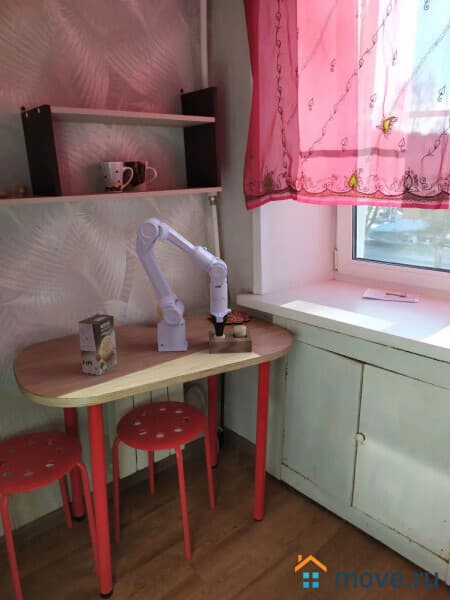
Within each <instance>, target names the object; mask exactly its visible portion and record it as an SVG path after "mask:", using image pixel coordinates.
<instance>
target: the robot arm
mask: <svg viewBox="0 0 450 600" xmlns="http://www.w3.org/2000/svg"><path fill="white" fill-rule="evenodd" d="M135 233H136V234H135V235H136V238H135V239H136V240H135V249H134V250H135V253H136V256H137V257H138V259H139V261H140V264H141V266H142V268H143V270H144V272H145V273H146V276H147V277H148V279H149V282H150V283H151V285H152V287H153V290H154V291H155V294H156V295H157V298H158V300H159V303H160V306H161V309H162V311H163V319H164V322H162V323H161V322H158V323H157V346H158V347H157V348H158V351H157V352H160V353H161V352H186V351H187V350H188V341H187V340H186V320H185V317H183V315H184V313H185V310H186V309H185V308H186V307H185V305H184V303H183V302H182V301H181V300H179V298H178V297H177V295H176V294H175V293H174V292H173V289H172V287H171V286H170V284H169V282H168V279H167V278H166V275H165V274H164V271H163V270H162V267H161V265H160V263H159V260H158V259H157V257H156V255H155V253H154V251H153V249H154V245H155V243H156V241H157V239H158V241H164V242H165V241H166V242H167V241H168V242H170V243H172V245H174V246H175V247H177V248H178V249H180V250H182V251H183V252H184V253H186V254H187V255H189V261H190V262H192V263H193V264H195V265H196V266H197V267H199V268H200V269H201V270H202V271H204V272H206V273H208V276H209V278H210V282H209V301H210V302H209V305H210V307H209V308H210V309H209V313H210V320H211V322H212V325H213V327H214V331H215V333H216V336H217V337H219V336H223V332H224V330H225V326H226V324H227V321H228V319H229V317H228V313H231V312H232V309H231V308H228V283H227V281H228V279H227V276H228V266H227V264H226V262H225V261H224V260H223V259H220V257H218V256H215V255H213V254H212V253H211V252H210V251H208V248H207V247H206V246H204V247H202V245H198V246H195V245H194V244H192V243H191V242H190V241H189V240H187V239H186V238H185V237H184V236H182V235H181V234H180V233H179V232H178V231H176V230H175V229H174V228H172V227H171V226H170V225H168V224H167V223H165V222H162V220H160V219H159V218H157V217H153V216H152V217H149V218H147V219H146V220H143V221H142V222H140V224H139V226H138V228H137V230H136V232H135Z"/></svg>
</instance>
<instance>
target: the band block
mask: <svg viewBox="0 0 450 600" xmlns="http://www.w3.org/2000/svg"><path fill="white" fill-rule="evenodd" d="M215 334H216V333H215V330H208V345H209V346H208V350H209V354H211V355H213V354H241V353H245V354H247V353H252V352H253V340H252V336H251V333H250V329H246V338H234V329H231V330H229V329H228V330H225V329H224V332H223V334H224V335H225V338H217V339H213V336H214V335H215Z"/></svg>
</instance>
